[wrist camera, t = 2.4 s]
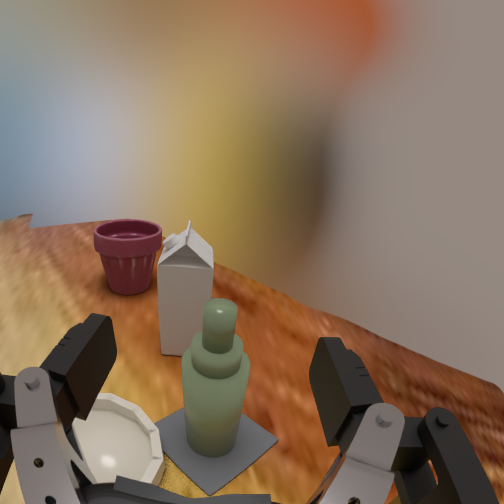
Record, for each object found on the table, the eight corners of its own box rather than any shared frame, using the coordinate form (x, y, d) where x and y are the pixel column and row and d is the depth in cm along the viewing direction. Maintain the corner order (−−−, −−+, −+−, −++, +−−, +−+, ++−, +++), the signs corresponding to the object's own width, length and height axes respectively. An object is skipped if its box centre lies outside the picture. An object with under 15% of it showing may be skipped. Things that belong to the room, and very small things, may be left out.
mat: (209, 496, 19) (209, 495, 18) (144, 430, 25) (144, 428, 25) (278, 440, 27) (278, 439, 26) (213, 391, 33) (213, 389, 33)
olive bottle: (210, 466, 22) (218, 343, 15) (176, 433, 25) (165, 301, 19) (246, 439, 26) (276, 311, 20) (212, 411, 29) (222, 281, 23)
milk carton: (206, 330, 46) (215, 221, 39) (207, 358, 39) (216, 237, 32) (165, 327, 44) (165, 218, 38) (161, 355, 38) (156, 233, 31)
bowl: (83, 527, 10) (71, 521, 9) (31, 426, 19) (21, 412, 18) (192, 473, 21) (191, 463, 20) (121, 392, 29) (117, 377, 28)
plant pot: (155, 268, 64) (156, 217, 60) (167, 298, 53) (168, 237, 49) (98, 272, 58) (95, 219, 53) (98, 304, 46) (91, 241, 42)
